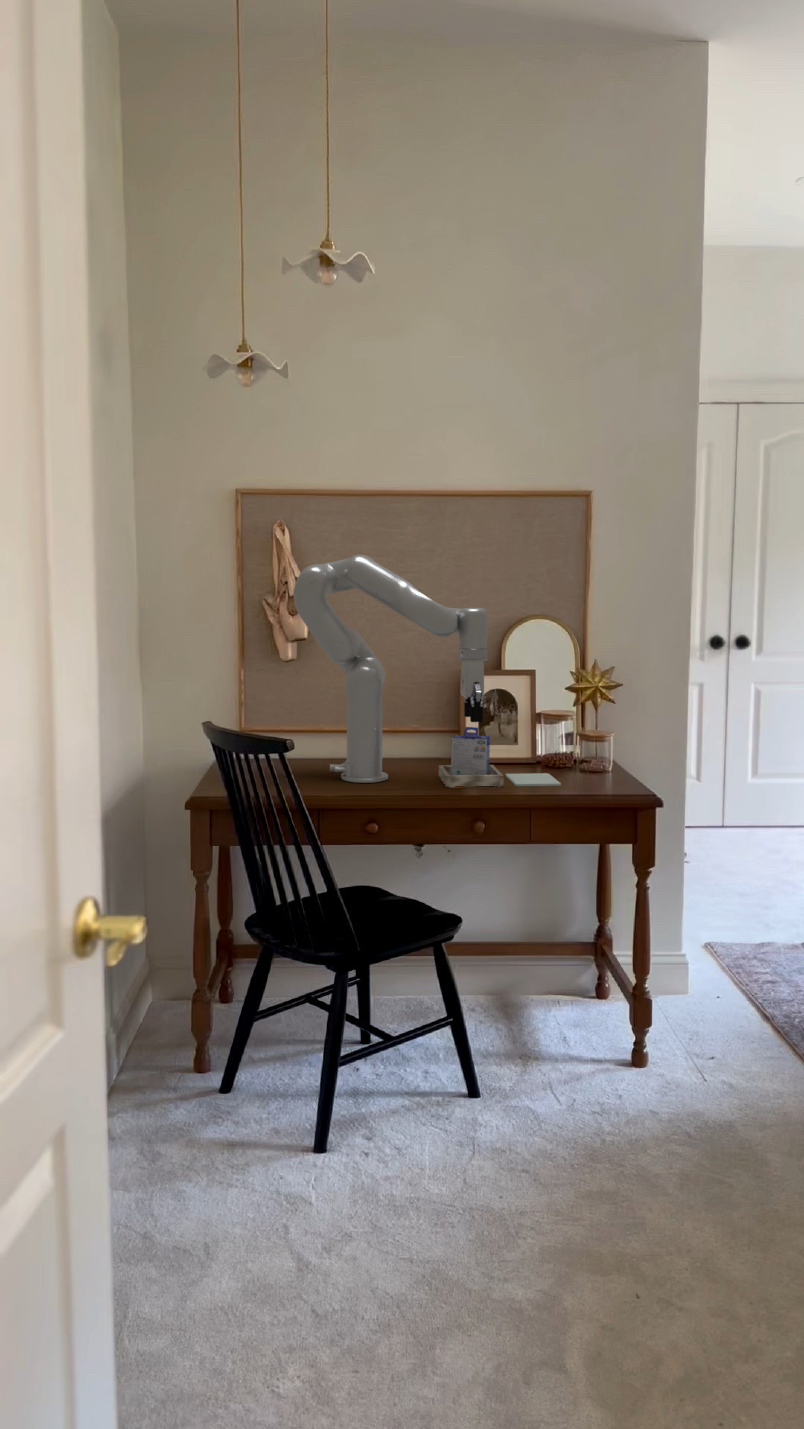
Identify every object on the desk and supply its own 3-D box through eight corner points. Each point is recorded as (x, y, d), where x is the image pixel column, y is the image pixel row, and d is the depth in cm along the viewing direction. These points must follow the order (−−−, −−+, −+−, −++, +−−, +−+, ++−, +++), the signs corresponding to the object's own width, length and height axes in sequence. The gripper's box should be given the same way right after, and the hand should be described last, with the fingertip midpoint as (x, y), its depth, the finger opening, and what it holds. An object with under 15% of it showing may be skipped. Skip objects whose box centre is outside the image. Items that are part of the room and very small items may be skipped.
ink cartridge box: (489, 780, 295) (490, 727, 293) (487, 784, 290) (488, 730, 288) (453, 778, 297) (454, 725, 295) (450, 782, 292) (451, 728, 290)
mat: (516, 786, 287) (516, 784, 287) (505, 775, 301) (505, 773, 301) (560, 785, 289) (560, 783, 289) (548, 775, 302) (548, 773, 302)
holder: (446, 787, 285) (446, 776, 285) (438, 776, 300) (438, 765, 299) (503, 786, 287) (503, 775, 286) (492, 775, 301) (492, 764, 301)
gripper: (454, 652, 297) (454, 715, 299) (464, 658, 280) (464, 724, 282) (481, 652, 297) (481, 714, 300) (493, 657, 280) (493, 723, 283)
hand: (473, 719), depth 291 cm, fingers open, 9 cm apart
